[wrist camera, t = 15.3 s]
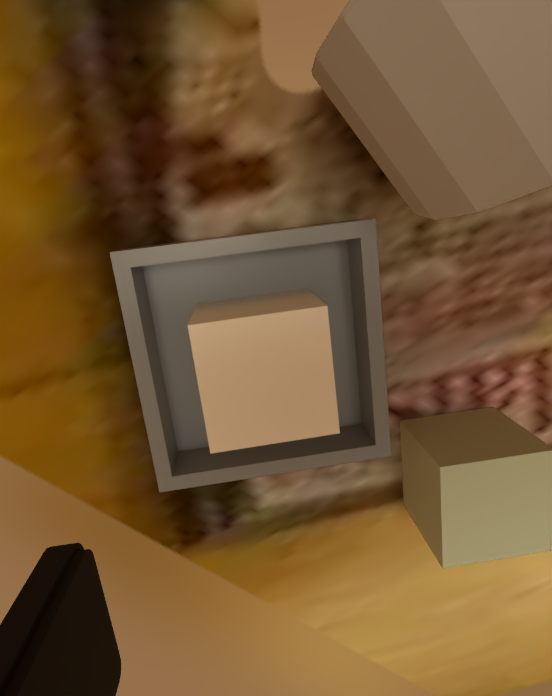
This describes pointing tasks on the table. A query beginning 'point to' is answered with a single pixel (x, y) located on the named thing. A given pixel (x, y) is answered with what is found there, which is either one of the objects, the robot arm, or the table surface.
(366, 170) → the table surface
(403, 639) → the table surface
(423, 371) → the table surface
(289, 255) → the grey tray
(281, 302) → the cream block
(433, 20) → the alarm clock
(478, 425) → the sage block
